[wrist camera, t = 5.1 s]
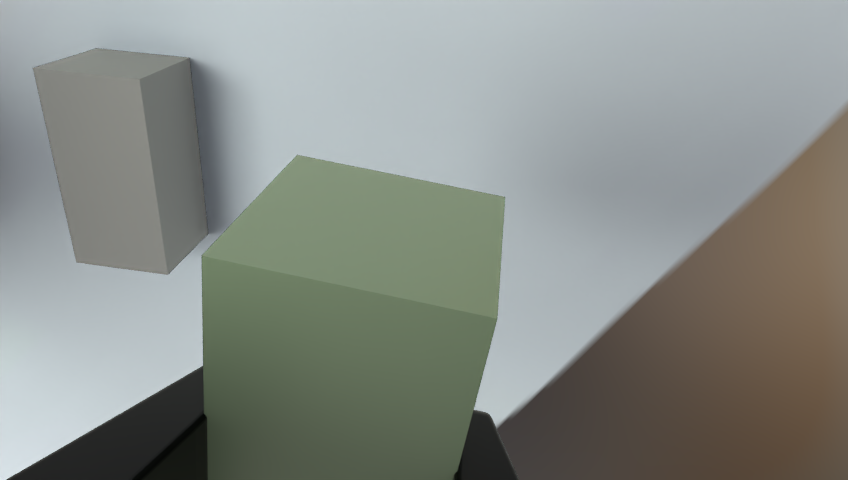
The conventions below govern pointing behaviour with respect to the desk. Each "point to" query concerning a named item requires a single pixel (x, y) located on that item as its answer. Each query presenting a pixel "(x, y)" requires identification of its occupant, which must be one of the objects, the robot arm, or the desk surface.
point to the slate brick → (126, 156)
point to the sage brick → (348, 326)
